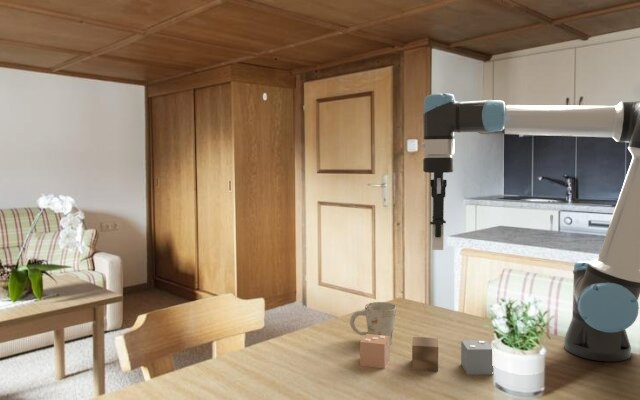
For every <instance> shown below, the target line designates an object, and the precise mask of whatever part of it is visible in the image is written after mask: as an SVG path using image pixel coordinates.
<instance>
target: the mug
mask: <svg viewBox="0 0 640 400" xmlns="http://www.w3.org/2000/svg"><path fill="white" fill-rule="evenodd" d="M396 313H397V306H396V305H395V304H394V303H390V302H385V301H376V302H374V301H373V302H369V303H366V304H365V306H364V310H357V311H355V312H353V314H351V316H350V319H349V325H350V327H351V329H352V330H353V331H354V333H356V334H357V335H361V336H365V335H366V334H374V335H384V336H390V345H391V344H392V343H393V336H394V328H395V320H396ZM359 316H363V317H364V316H365V318H366V319H365V320H366V328H367V331H362V330H361V331H360V330H359V329H358V328H357V326H356V323H355V321H356V319H357V318H358V317H359Z"/></svg>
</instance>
